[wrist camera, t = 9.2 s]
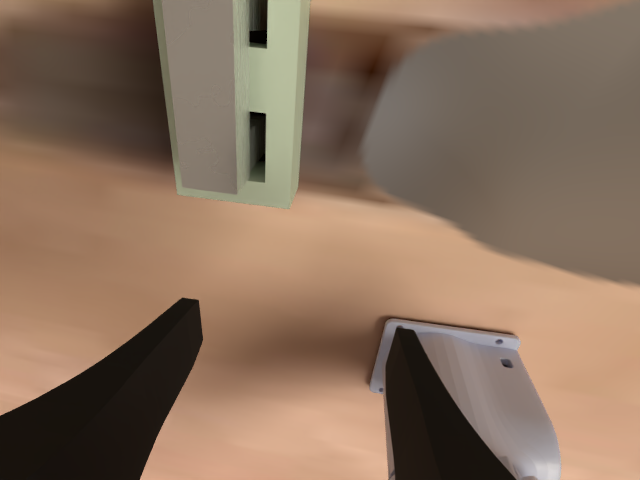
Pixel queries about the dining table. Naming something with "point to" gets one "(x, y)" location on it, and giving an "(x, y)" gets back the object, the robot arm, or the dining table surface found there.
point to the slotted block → (262, 104)
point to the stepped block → (214, 90)
